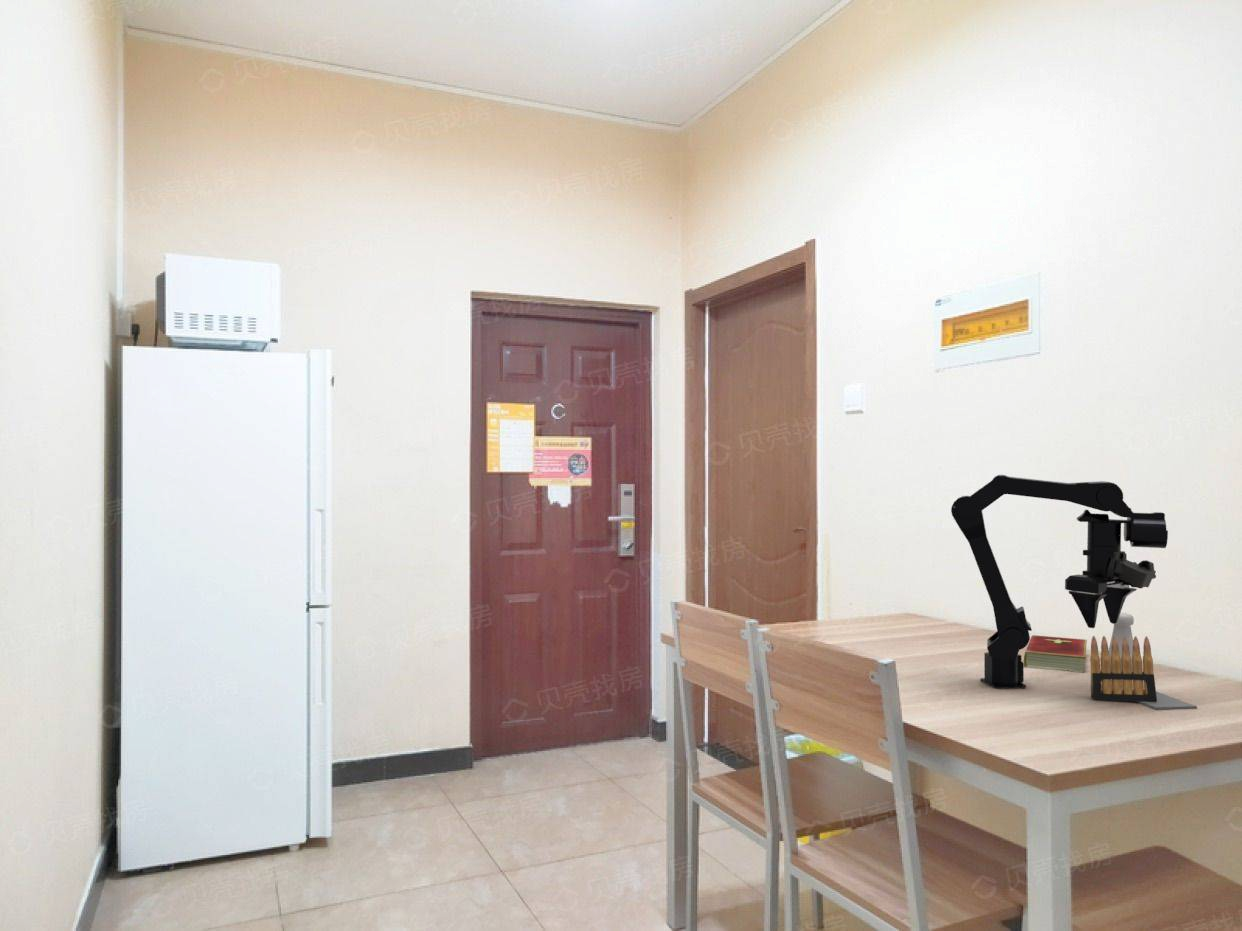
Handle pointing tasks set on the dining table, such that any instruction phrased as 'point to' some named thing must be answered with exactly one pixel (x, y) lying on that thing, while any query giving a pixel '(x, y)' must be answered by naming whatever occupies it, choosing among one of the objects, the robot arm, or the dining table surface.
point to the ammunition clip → (1122, 672)
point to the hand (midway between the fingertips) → (1102, 625)
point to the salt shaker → (1123, 634)
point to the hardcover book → (1056, 653)
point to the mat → (1167, 703)
